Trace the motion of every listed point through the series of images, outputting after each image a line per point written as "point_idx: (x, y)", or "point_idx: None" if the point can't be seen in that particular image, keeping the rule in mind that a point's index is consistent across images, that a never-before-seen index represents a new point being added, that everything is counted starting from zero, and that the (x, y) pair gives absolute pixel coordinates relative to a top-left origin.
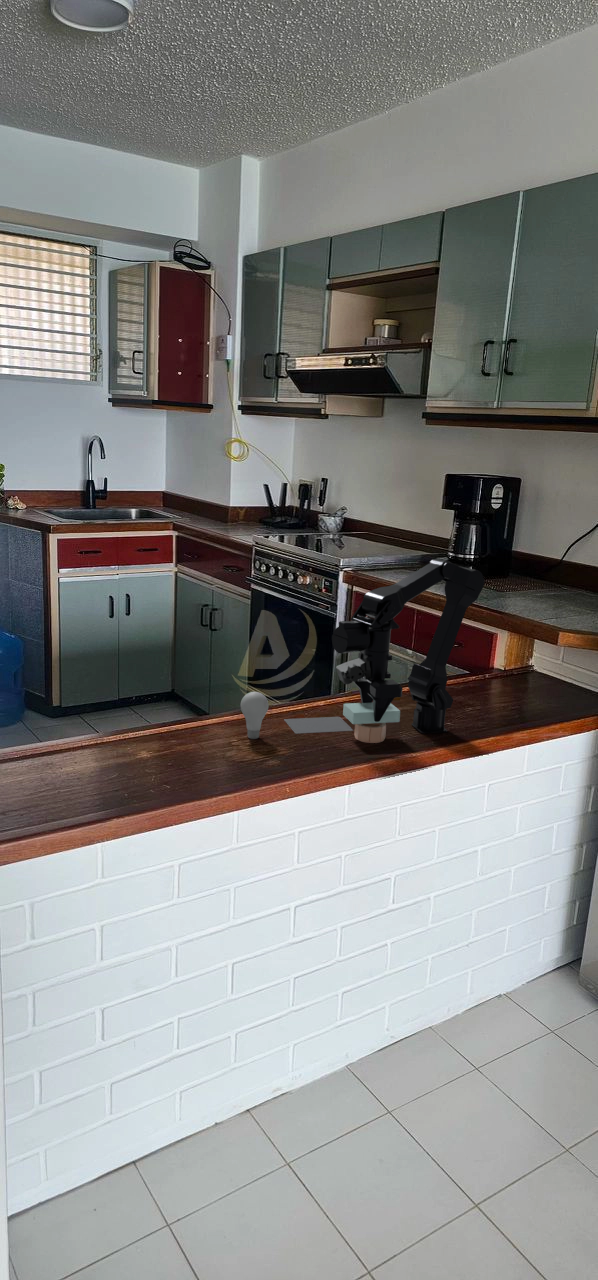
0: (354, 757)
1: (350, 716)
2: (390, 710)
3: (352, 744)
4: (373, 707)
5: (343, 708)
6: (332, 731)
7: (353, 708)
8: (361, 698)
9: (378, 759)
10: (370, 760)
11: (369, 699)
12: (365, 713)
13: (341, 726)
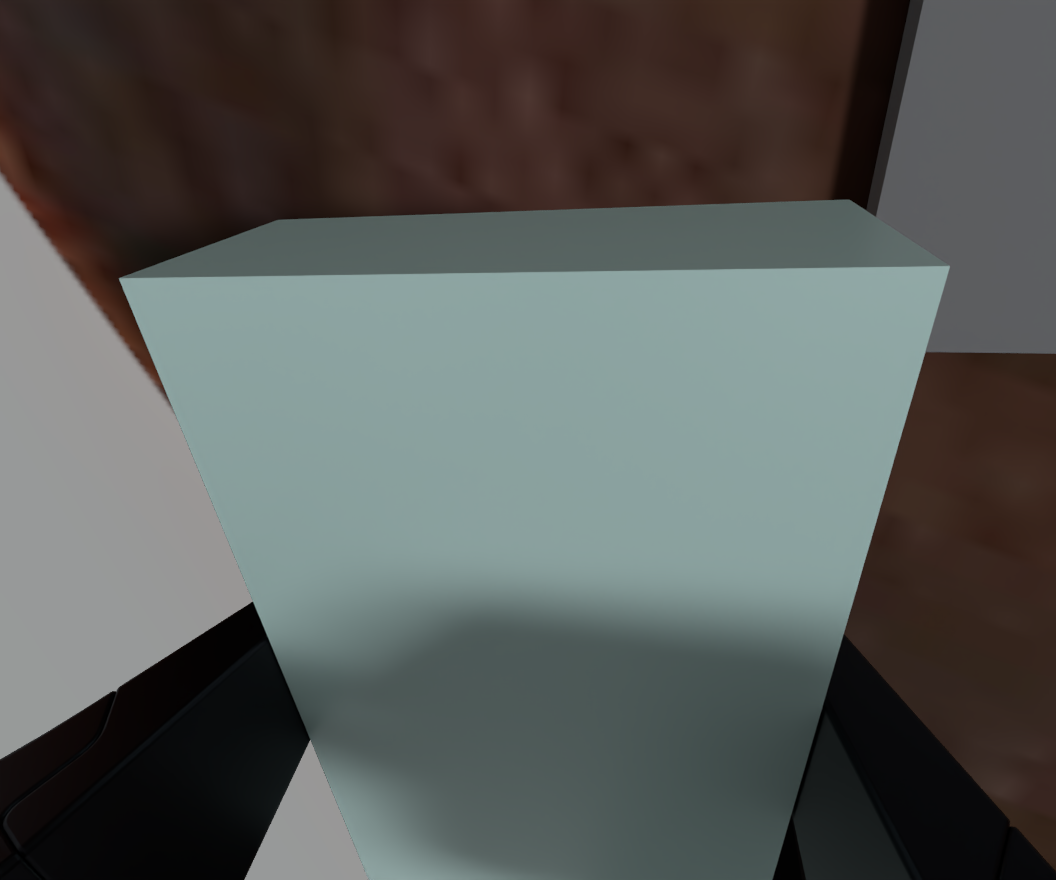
0: (122, 99)
1: (375, 238)
2: (371, 821)
3: (487, 203)
4: (182, 704)
5: (888, 231)
6: (925, 27)
7: (450, 391)
8: (925, 785)
9: (135, 319)
10: (93, 241)
11: (819, 855)
12: (232, 509)
13: None
